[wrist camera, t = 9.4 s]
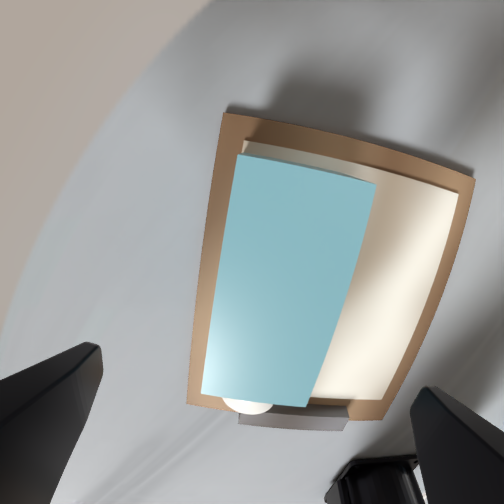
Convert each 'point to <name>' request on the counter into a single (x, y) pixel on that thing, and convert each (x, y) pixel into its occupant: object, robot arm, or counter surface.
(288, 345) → the light blue block
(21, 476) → the robot arm
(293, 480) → the counter surface
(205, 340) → the clipboard
